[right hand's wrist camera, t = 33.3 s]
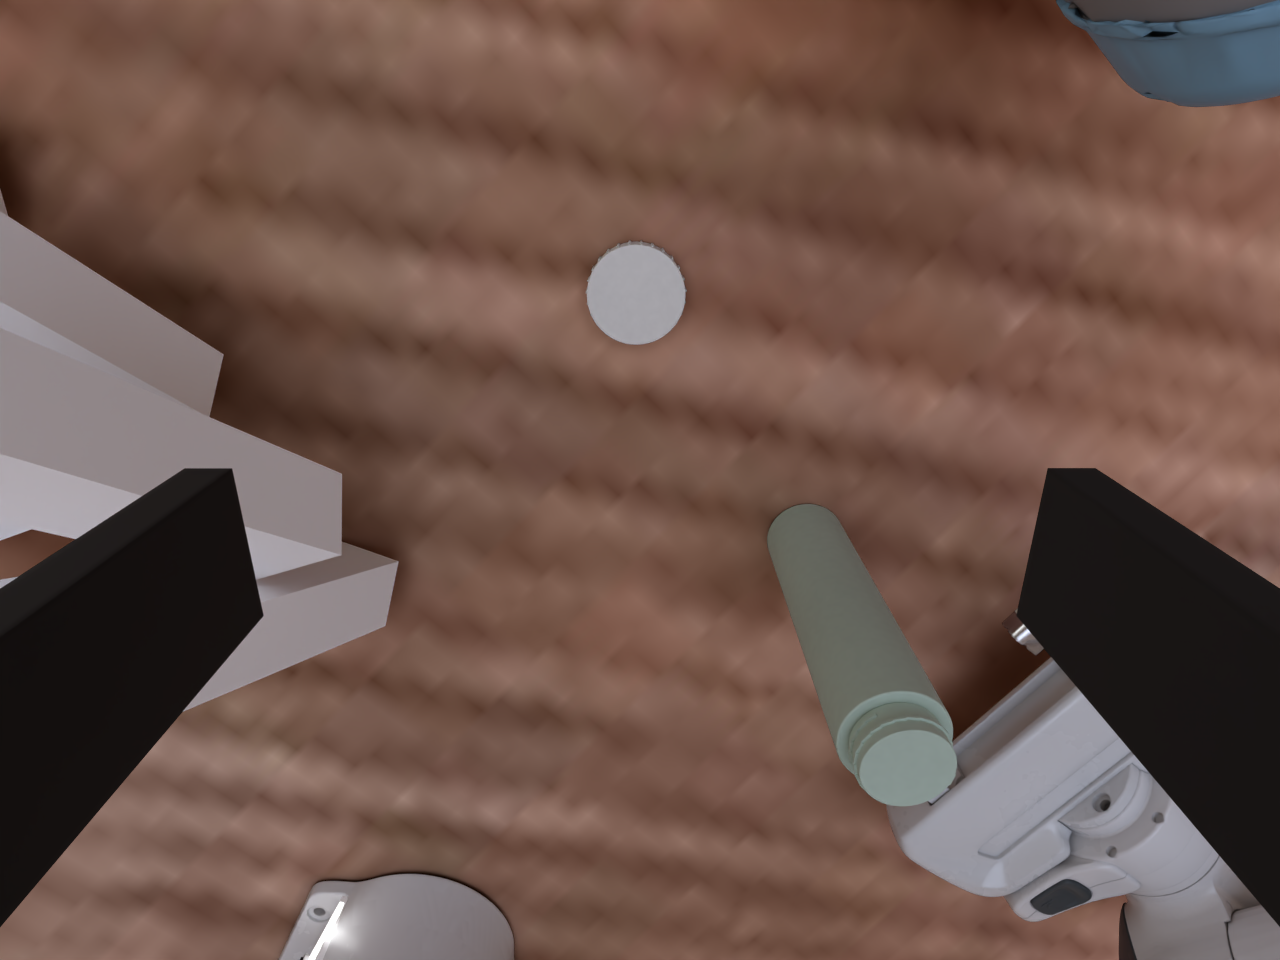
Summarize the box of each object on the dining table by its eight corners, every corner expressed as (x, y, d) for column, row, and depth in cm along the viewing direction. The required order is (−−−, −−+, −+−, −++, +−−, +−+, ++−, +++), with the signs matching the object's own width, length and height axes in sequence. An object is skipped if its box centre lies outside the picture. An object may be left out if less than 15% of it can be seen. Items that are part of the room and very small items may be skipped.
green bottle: (755, 558, 47) (827, 799, 29) (784, 493, 45) (878, 706, 27) (823, 579, 48) (935, 828, 30) (854, 516, 46) (992, 738, 28)
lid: (700, 263, 40) (703, 267, 39) (662, 353, 42) (663, 361, 41) (609, 223, 40) (607, 226, 38) (573, 317, 42) (570, 323, 40)
